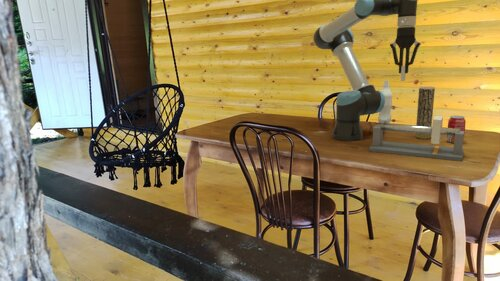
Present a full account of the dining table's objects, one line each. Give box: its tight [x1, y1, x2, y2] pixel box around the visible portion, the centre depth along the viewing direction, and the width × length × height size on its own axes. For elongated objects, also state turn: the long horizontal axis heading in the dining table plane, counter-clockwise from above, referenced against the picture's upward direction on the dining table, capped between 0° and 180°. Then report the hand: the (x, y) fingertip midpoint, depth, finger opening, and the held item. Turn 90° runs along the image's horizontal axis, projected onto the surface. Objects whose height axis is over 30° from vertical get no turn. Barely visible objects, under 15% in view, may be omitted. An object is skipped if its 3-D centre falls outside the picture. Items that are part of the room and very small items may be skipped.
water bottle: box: [377, 80, 393, 124], centre depth 211 cm, size 7×7×25 cm
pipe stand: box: [368, 124, 465, 162], centre depth 156 cm, size 36×14×10 cm, turn 59°
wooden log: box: [415, 86, 436, 140], centre depth 176 cm, size 7×7×25 cm
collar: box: [430, 115, 444, 145], centre depth 151 cm, size 3×9×10 cm, turn 149°
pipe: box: [377, 122, 460, 136], centre depth 155 cm, size 32×3×3 cm, turn 59°
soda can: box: [446, 115, 466, 144], centre depth 168 cm, size 7×7×12 cm
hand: (402, 80), depth 166 cm, fingers closed
